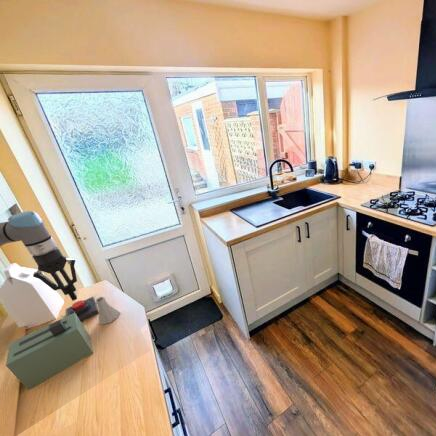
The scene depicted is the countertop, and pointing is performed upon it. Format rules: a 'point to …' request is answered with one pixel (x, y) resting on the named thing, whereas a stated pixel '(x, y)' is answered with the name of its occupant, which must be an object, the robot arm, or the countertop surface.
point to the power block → (85, 310)
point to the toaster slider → (57, 328)
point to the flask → (106, 311)
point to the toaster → (48, 352)
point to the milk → (29, 297)
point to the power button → (78, 305)
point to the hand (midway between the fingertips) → (74, 298)
